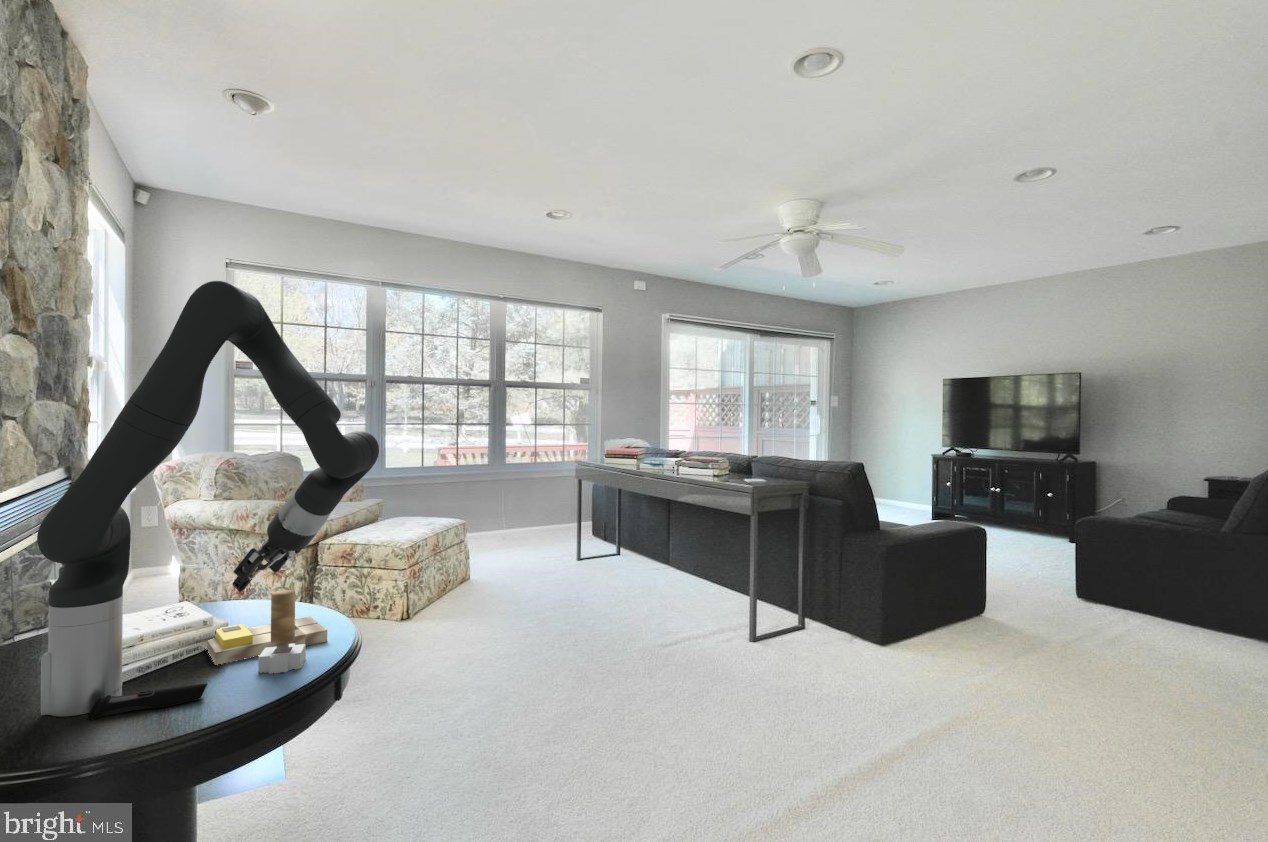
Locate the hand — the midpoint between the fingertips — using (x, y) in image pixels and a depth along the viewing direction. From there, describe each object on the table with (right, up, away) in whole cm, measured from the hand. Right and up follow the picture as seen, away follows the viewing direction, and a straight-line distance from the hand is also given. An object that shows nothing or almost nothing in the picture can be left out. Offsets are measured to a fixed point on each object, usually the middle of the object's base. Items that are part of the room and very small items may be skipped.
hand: (255, 578), depth 117 cm
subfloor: (-6, -17, +14) cm, 23 cm away
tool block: (+3, -18, +3) cm, 18 cm away
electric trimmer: (-9, -18, -14) cm, 25 cm away
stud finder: (-10, -15, +10) cm, 21 cm away
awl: (+3, -18, +3) cm, 18 cm away
